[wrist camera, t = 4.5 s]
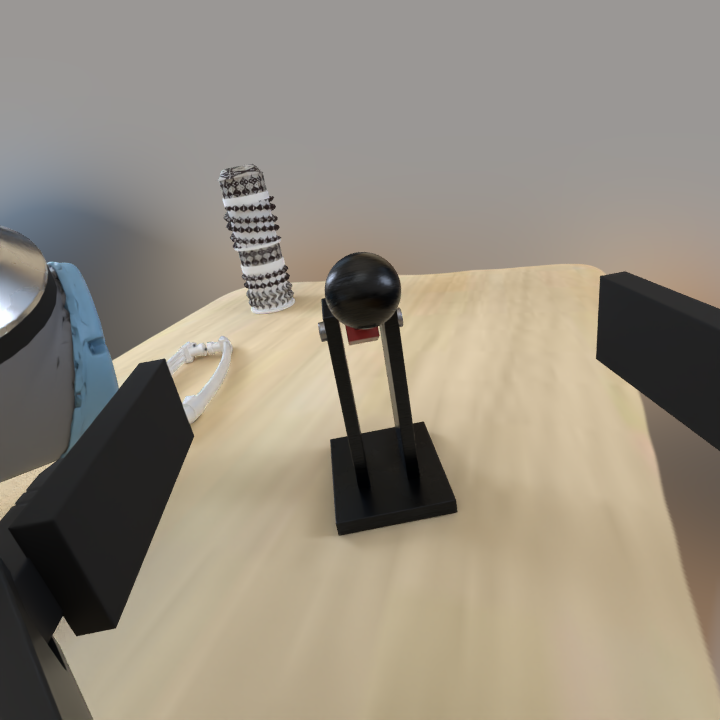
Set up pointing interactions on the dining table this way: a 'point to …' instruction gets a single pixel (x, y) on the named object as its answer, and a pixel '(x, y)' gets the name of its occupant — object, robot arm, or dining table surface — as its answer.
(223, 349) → the door handle
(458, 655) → the dining table surface
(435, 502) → the bracket
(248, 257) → the decorative candle
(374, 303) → the lever
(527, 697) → the dining table surface
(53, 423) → the robot arm
